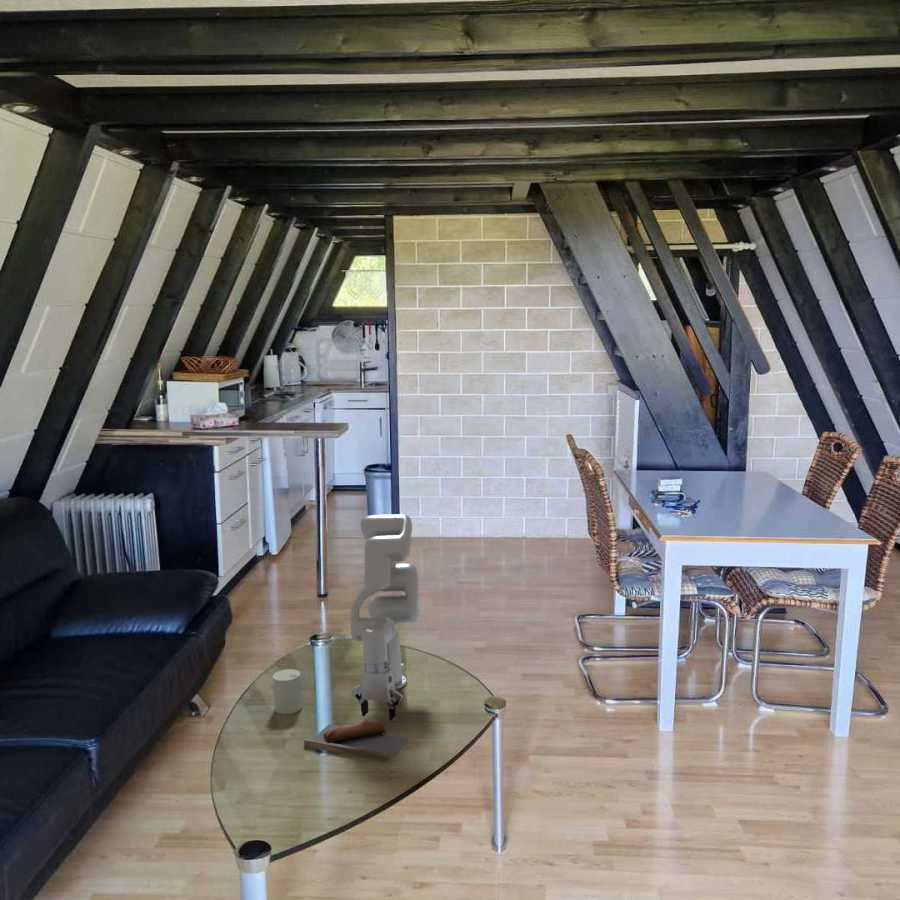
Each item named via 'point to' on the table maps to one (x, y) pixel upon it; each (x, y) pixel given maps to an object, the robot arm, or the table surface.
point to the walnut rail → (347, 750)
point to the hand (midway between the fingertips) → (378, 716)
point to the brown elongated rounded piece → (354, 731)
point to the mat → (370, 741)
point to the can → (287, 691)
